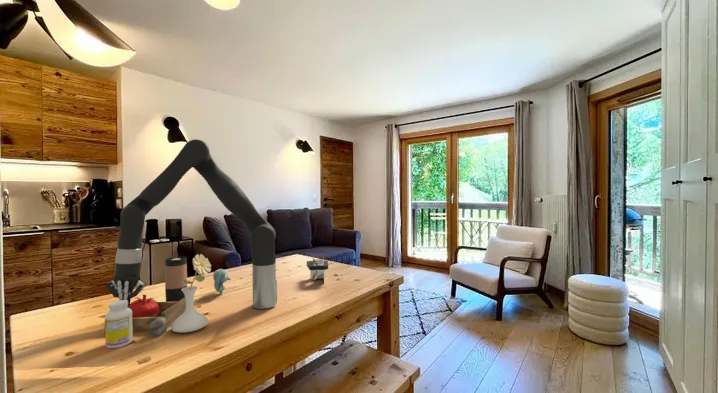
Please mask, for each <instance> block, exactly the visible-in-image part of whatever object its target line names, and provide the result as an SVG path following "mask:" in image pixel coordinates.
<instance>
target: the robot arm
mask: <svg viewBox="0 0 718 393" xmlns="http://www.w3.org/2000/svg"><path fill="white" fill-rule="evenodd" d="M192 168H194V170H195V171H196V172H197V173H198V174H199V175H200V176H201V177H202V178H203V179H204V181H205V182H206V183H207V186H209V188H210V190H211V191H212V193H214V194H215V196H216V198H217V199H218V200H219V201H220V203H221V204H222V205H223V206H224V207H225V209H227V210H228V211H229V212H230V213H231V214H232V215H233V216H235V217H236V218H237V219H239V220H240V221H241V222H242V223H243V224H244V226H245V227H246V228H247V229H248V231H249V232H250V233H251V236H250V252H251V253H250V254H251V255H250V256H251V262H252V263H251V265H252V266H251V267H252V268H251V269H252V270H251V271H252V272H251V273H252V279H251V280H252V307H253V308H255V309H257V310H258V309H260V310H264V309H270V308H275V307H276V305H277V303H278V280H277V279H276V278H277V277H276V276H277V274H276V273H277V270H276V268H277V266H276V263H277V262H276V260H277V257H276V237H277V232H276V229H275V228H274V226H272V224H270V222H268V220H266V219H265V218H264V217H263V216H262V214H260V213H259V212H258V210H257V209H256V207H255V206H254V204H253V203H252V201H251V200H250V199H249V197H248V196H247V194H246V193H245V192H244V191H243V189H242V188H241V187H240V185H238V183H237V182H235V180H234V179H233V178H231V177H230V176H229V175H227V174H226V173H225V172H224V171H223V170H222V169H221V168H220V167H219V166H218V164H217V163H216V162H215V160H214V158H213V157H212V155H211V153H210V148H209V146H208V144H207V143H206V142H205V141H203V140H201V139H191V140H189V141H187V142H186V143H185V145H183V147H182V148H181V149H180V151H179V152H178V154H177V155H176V156H175V157H174V159H173V160H172V161H171V162H170V163H169V164H168V166H166V167H165V169H164V170H163V171H162V172H160V174H159V175H157V177H156V178H154V179H153V180H152V181H151V182H150V183H149V184H148V185H147V186H146V187H145V188H144V189H143V190H142V191H141V192H140V193H139V194H138V195H137V196H136V197H135V198H133V199H132V200H131V201H130V202H128V203H127V204H126V205H125V206H124V207H123V208H122V210H121V212H120V224H119V236H118V240H117V250H116V254H115V263H114V273H113V275H114V277H113V278H112V280H111V281H110V282H109V281H108V282H107V283H105V286H106V288H107V289H108V291H109V292H110V293H111V295H112V296H113V298H117V299H119V300H128V306H129V305H130V304H131V299H133V298H136V297H137V296H138V295H139V294H140V293H141V292H142V291H143V290H144V289H145V288H146V287H147V283H145V282H144V283H143V282H142V281H141V277H140V274H141V266H142V259H143V251H142V250H143V249H142V247H143V232H144V228H145V220H146V216H147V215H148V214H149V213H150V212H151V211H152V210H153V209H154V208H155V207H157V206H158V205H159V204H161V203H162V201H163V200H165V199H166V198H167V197H168V196H169V195H170V194H171V193H172V191H173V190H175V187H176V186H177V185H178V183H179V182H180V181H181V180H182V178H183V177H184V176H185V175H186V174H187V173H188V172H189V171H190V170H191V169H192ZM135 287H136V288H135ZM128 306H127V307H128Z"/></svg>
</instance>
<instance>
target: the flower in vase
mask: <svg viewBox="0 0 718 393" xmlns="http://www.w3.org/2000/svg"><path fill="white" fill-rule="evenodd" d="M191 263H192V265H193V270H194V271H195V274H194V277H193V280H192V281H190V280H187V281H186V280H184V283H185V284H187V285H190V286H187V287H185V288H182V289H181V290H182V291H183V293H184V295H185V298H186V310H185V311H184V313H183V314H182V315H180V316H179V317H178V318H177V319H176V320H175V321H174V322H173V323H172V325H171V326H170V329H171V331H172V332H175V333H181V334H182V333H183V334H184V333H192V332H195V331H198V330H200V329H203V328H204V327H205V326H206V325H208V323H209V317H207V316H206V315H205V314H203V313H201V312H199V311H198V310H196V309H195V306H194V300H195V294H196V291H197V290H198V289H199V288H198V286H194V285H193V284H194V282H195V281H197V282H198V283H201V282H203V281H204V280H205V279H206V277H205V276H207V275H208V274H209V273H211V271H212V268H211V267H212V264H211V261H209V258H208V257H205V255H204V254H202V253H200V254H198V253H197V254H196V255H194V257H192V262H191ZM197 274H198V275H197Z"/></svg>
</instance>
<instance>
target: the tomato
mask: <svg viewBox="0 0 718 393" xmlns="http://www.w3.org/2000/svg"><path fill="white" fill-rule="evenodd" d="M134 299H136V300H134V301H132V302H130V305H129V306H128V307H127V308H130V309H131V310H132V318H134V317H157V316H158V315H159V314H158V312H159V305H158V304H157V302H158V301H157V300H155V298H154V297H153V298H152V297H150V298H147V294H142V298H140V297H137V296H136V297H134Z"/></svg>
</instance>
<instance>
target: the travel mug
mask: <svg viewBox="0 0 718 393" xmlns="http://www.w3.org/2000/svg"><path fill="white" fill-rule="evenodd" d="M164 260H165V262H164V264H165V266H164V267H165V268H164V270H165V272H164V275H165V276H164V277H165V278H164V279H165V280H164V287H165V288H164V290H165V302H174V301H180V300H181V299H183V298H184V297H185V295H184V293H183V291H182V290H181V289H182V288H185V287H188V284H185V283H184V280H186V281H188V270H187V269H188V265H187V264H188V262H187V261H188V260H187V257H186V256H178V257H166V258H165V259H164Z"/></svg>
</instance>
